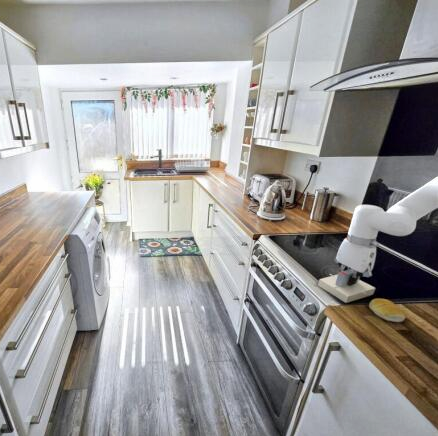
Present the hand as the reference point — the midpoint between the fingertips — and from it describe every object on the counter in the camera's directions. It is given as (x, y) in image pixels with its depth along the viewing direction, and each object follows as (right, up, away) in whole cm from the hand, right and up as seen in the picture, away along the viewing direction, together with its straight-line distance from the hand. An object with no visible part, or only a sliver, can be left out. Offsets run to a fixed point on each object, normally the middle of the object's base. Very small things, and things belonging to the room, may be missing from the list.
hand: (347, 282), depth 92 cm
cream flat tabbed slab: (0, -3, +1) cm, 4 cm away
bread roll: (+4, -8, -11) cm, 14 cm away
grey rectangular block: (0, -1, 0) cm, 1 cm away
